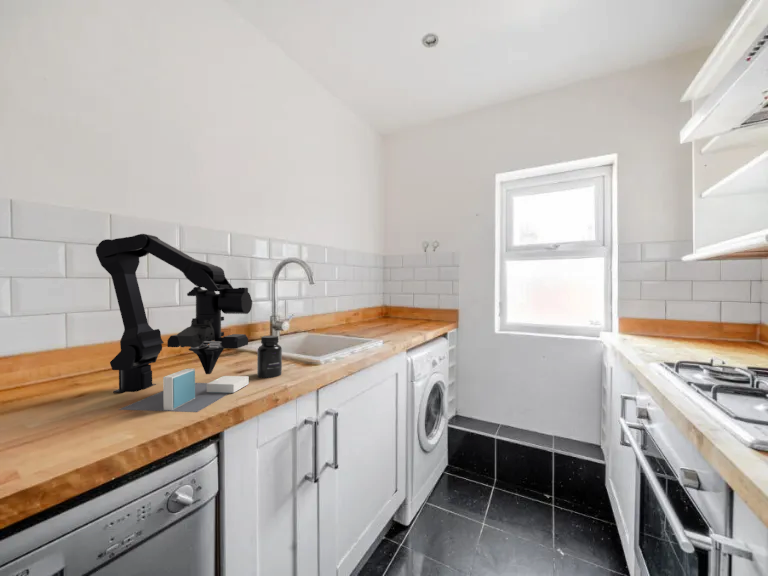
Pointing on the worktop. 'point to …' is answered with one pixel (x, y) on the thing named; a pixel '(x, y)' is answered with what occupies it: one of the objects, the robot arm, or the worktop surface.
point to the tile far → (227, 384)
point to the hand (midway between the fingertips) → (208, 373)
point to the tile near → (178, 388)
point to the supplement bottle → (269, 358)
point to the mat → (194, 405)
